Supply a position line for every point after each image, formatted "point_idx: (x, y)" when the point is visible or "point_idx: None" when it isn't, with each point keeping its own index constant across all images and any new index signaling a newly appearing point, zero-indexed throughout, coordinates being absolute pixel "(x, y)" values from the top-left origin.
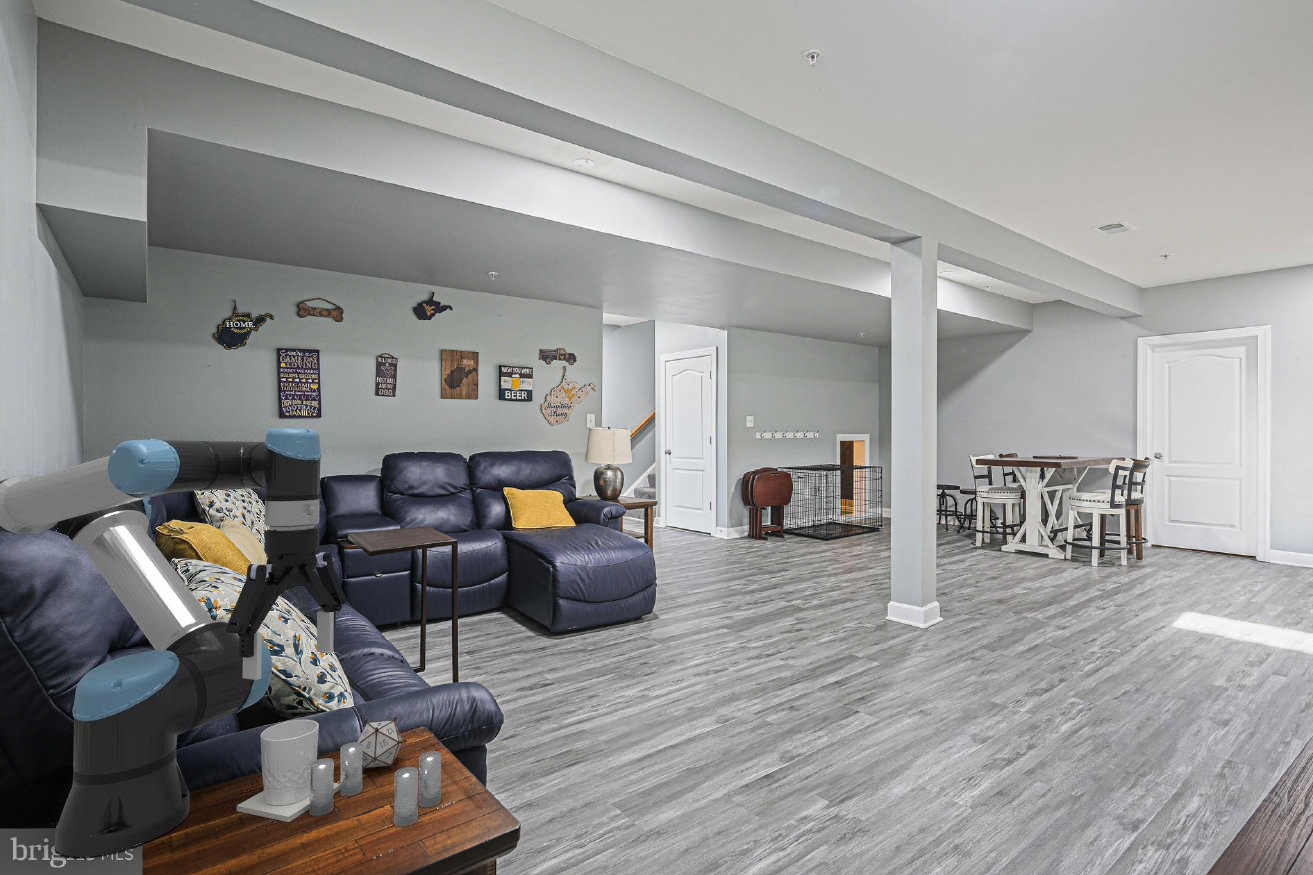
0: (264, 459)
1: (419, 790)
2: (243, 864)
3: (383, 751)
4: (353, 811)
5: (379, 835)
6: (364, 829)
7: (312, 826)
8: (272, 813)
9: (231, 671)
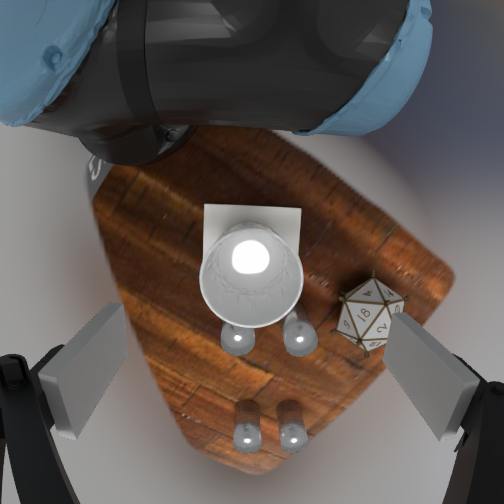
0: None
1: (280, 414)
2: (125, 310)
3: (348, 338)
4: None
5: (214, 401)
6: (219, 382)
7: (205, 327)
8: None
9: (244, 104)
